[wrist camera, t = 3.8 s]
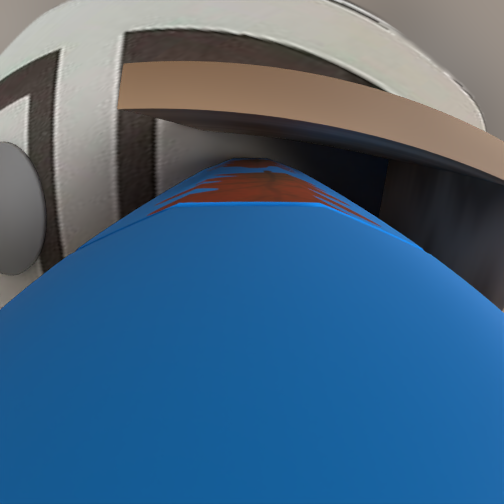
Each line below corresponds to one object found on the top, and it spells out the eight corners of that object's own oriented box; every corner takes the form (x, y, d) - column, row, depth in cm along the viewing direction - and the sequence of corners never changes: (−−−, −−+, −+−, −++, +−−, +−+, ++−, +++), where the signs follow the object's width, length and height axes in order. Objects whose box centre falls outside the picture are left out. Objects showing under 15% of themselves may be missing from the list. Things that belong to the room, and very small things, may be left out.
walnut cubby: (362, 331, 25) (424, 459, 12) (191, 318, 24) (150, 465, 11) (407, 148, 19) (557, 175, 6) (205, 113, 19) (123, 63, 6)
